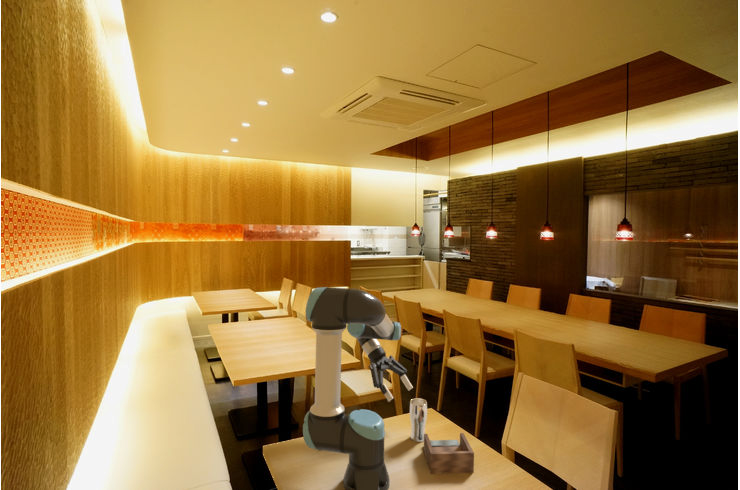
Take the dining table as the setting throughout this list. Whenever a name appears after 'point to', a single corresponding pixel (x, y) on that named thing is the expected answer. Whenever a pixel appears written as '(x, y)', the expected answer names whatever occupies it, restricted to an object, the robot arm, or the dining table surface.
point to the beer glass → (418, 418)
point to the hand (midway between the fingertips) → (401, 394)
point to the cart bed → (449, 455)
